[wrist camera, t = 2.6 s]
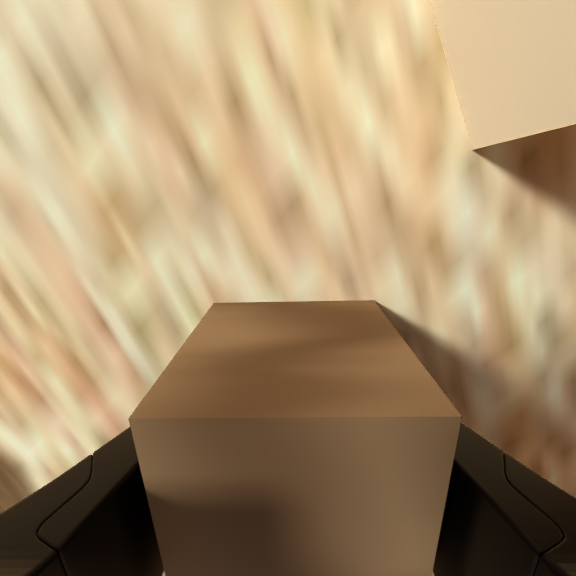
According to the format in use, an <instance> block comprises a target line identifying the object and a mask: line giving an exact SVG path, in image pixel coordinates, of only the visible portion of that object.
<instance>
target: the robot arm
mask: <svg viewBox="0 0 576 576" xmlns="http://www.w3.org/2000/svg"><path fill="white" fill-rule="evenodd" d="M163 572H164V567H163V563H162V559H161V555H160V550H159V546H158V542H157V538H156V533H155V529H154V525H153V521H152V516H151V512H150V508H149V504H148V499H147V495H146V491H145V487H144V482H143V478H142V474H141V469H140V465H139V461H138V457H137V452H136V448H135V444H134V440H133V435H132V431H131V427H129V428H128V429H126V430H125V431H123V432H122V433H121V434H119V435H118V436H116V437H115V438H113V439H112V440H111V441H109V442H108V443H106V444H105V445H103V446H102V447H101V448H99V449H98V450H96V451H95V452H94V453H93V455H89V456H88V457H86V458H85V459H84V460H82V461H81V462H79V463H78V464H76V465H75V466H74V467H72V468H71V469H69V470H68V471H66V472H65V473H63V474H62V475H60V476H59V477H57V478H56V479H54V480H53V481H52V482H50V483H48V484H47V485H45V486H44V487H42V488H41V489H39V490H38V491H36V492H34V493H33V494H31V495H30V496H28V497H27V498H25V499H24V500H22V501H20V502H19V503H17V504H16V505H14V506H12V507H11V508H9V509H8V510H6V511H4V512H3V513H1V514H0V576H162V575H163ZM433 573H434V576H576V498H574V497H573V496H571V495H570V494H568V493H566V492H565V491H563V490H561V489H560V488H558V487H557V486H555V485H553V484H552V483H550V482H549V481H547V480H545V479H544V478H542V477H541V476H539V475H538V474H536V473H535V472H533V471H532V470H530V469H529V468H527V467H526V466H524V465H523V464H521V463H520V462H518V461H517V460H515V459H514V458H512V457H511V456H509V455H508V454H504V453H503V451H502V450H500V449H499V448H497V447H496V446H494V445H493V444H491V443H490V442H488V441H487V440H486V439H484V438H483V437H481V436H480V435H478V434H477V433H475V432H474V431H472V430H471V429H469V428H468V427H466V426H465V425H463V424H462V423H460V429H459V434H458V439H457V445H456V450H455V455H454V460H453V466H452V471H451V476H450V481H449V487H448V492H447V497H446V503H445V508H444V513H443V518H442V524H441V529H440V534H439V540H438V545H437V550H436V555H435V561H434V566H433Z"/></svg>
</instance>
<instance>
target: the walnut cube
mask: <svg viewBox="0 0 576 576" xmlns="http://www.w3.org/2000/svg"><path fill="white" fill-rule="evenodd" d="M461 418H462V416H461V415H460V413H459V412H458V411H457V409H456V408H455V407H454V405H453V404H452V403H451V401H450V400H449V399H448V397H447V396H446V395H445V393H444V392H443V391H442V390H441V388H440V387H439V386H438V384H437V383H436V382H435V380H434V379H433V378H432V376H431V375H430V374H429V372H428V371H427V370H426V368H425V367H424V366H423V364H422V363H421V362H420V360H419V359H418V358H417V356H416V355H415V354H414V352H413V351H412V350H411V348H410V347H409V346H408V344H407V343H406V342H405V341H404V339H403V338H402V337H401V335H400V334H399V333H398V331H397V330H396V329H395V327H394V326H393V325H392V323H391V322H390V321H389V319H388V318H387V317H386V315H385V314H384V313H383V311H382V310H381V309H380V307H379V306H378V305H377V303H376V302H375V301H374V300H369V301H310V302H251V303H214V304H213V305H212V306H211V308H210V309H209V310H208V312H207V313H206V314H205V316H204V317H203V318H202V320H201V321H200V322H199V324H198V325H197V327H196V328H195V329H194V331H193V332H192V333H191V335H190V336H189V337H188V339H187V340H186V341H185V343H184V344H183V346H182V347H181V348H180V350H179V351H178V352H177V354H176V355H175V356H174V358H173V359H172V360H171V362H170V363H169V365H168V366H167V367H166V369H165V370H164V371H163V373H162V374H161V375H160V377H159V378H158V379H157V381H156V382H155V384H154V385H153V386H152V388H151V389H150V390H149V392H148V393H147V394H146V396H145V397H144V398H143V400H142V401H141V403H140V404H139V405H138V407H137V408H136V409H135V411H134V412H133V413H132V415H131V416H130V417H129V423H130V427H131V431H132V435H133V440H134V444H135V448H136V452H137V457H138V461H139V465H140V469H141V474H142V478H143V482H144V487H145V491H146V495H147V499H148V504H149V508H150V512H151V516H152V521H153V525H154V529H155V533H156V538H157V542H158V546H159V550H160V555H161V559H162V563H163V567H164V572H165V576H432V571H433V566H434V561H435V555H436V550H437V545H438V540H439V534H440V529H441V524H442V518H443V513H444V508H445V503H446V497H447V492H448V487H449V481H450V476H451V471H452V466H453V460H454V455H455V450H456V445H457V439H458V434H459V429H460V423H461Z"/></svg>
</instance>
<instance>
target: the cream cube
mask: <svg viewBox="0 0 576 576" xmlns="http://www.w3.org/2000/svg"><path fill="white" fill-rule="evenodd" d="M429 1H430V5H431V8H432V12H433V15H434V19H435V22H436V26H437V29H438V33H439V36H440V40H441V43H442V47H443V50H444V54H445V57H446V61H447V64H448V68H449V71H450V75H451V78H452V82H453V85H454V89H455V92H456V96H457V99H458V103H459V106H460V110H461V113H462V117H463V120H464V124H465V127H466V131H467V134H468V138H469V141H470V145H471V148H472V150H474V149H478V148H482V147H486V146H490V145H494V144H498V143H502V142H506V141H510V140H514V139H518V138H522V137H526V136H530V135H534V134H538V133H542V132H546V131H550V130H554V129H558V128H562V127H566V126H570V125H574V124H576V0H429Z"/></svg>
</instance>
